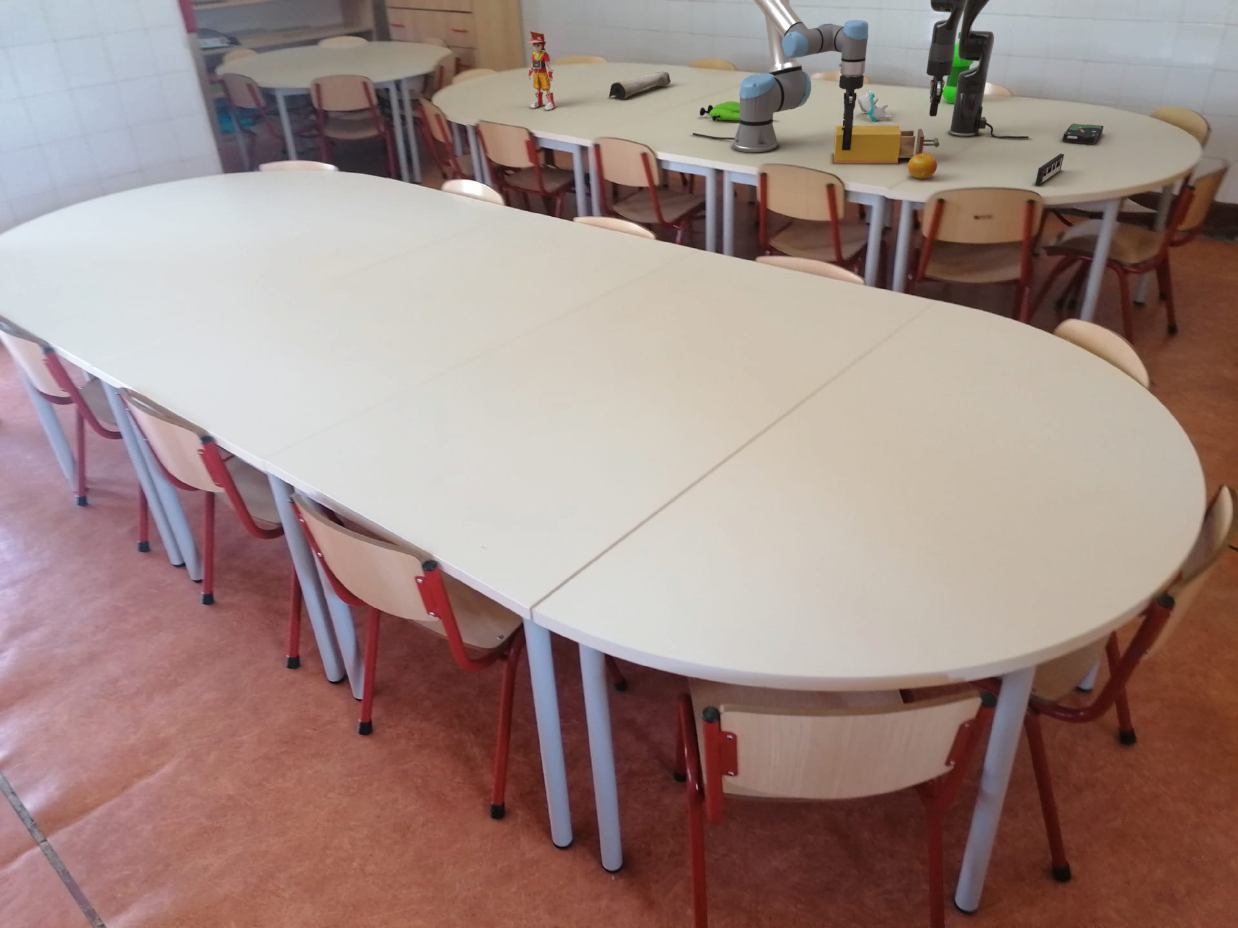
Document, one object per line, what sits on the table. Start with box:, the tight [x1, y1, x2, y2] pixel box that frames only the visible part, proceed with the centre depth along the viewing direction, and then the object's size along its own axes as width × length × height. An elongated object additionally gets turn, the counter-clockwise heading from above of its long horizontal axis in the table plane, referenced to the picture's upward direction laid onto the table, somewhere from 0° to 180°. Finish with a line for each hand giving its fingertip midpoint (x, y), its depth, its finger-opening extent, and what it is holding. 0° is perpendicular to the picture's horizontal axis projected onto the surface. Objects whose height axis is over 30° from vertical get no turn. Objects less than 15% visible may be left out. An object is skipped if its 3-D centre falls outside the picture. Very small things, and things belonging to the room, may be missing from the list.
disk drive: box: [1061, 123, 1105, 145], centre depth 306 cm, size 10×3×15 cm
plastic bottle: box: [942, 31, 974, 104], centre depth 348 cm, size 10×10×25 cm
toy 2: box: [699, 100, 777, 122], centre depth 351 cm, size 28×5×30 cm
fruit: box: [907, 152, 938, 179], centre depth 279 cm, size 8×8×8 cm
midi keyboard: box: [1035, 153, 1065, 186], centre depth 273 cm, size 18×1×5 cm, turn 138°
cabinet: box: [833, 125, 901, 164], centre depth 298 cm, size 20×11×9 cm, turn 79°
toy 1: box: [527, 31, 556, 111], centre depth 374 cm, size 12×9×30 cm
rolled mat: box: [608, 71, 672, 101], centre depth 395 cm, size 30×9×10 cm
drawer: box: [898, 128, 940, 159], centre depth 296 cm, size 24×9×7 cm, turn 79°
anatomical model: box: [857, 89, 892, 122], centre depth 341 cm, size 15×10×10 cm
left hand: (845, 145), depth 299 cm, fingers closed on cabinet, 11 cm apart
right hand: (932, 116), depth 289 cm, fingers closed
